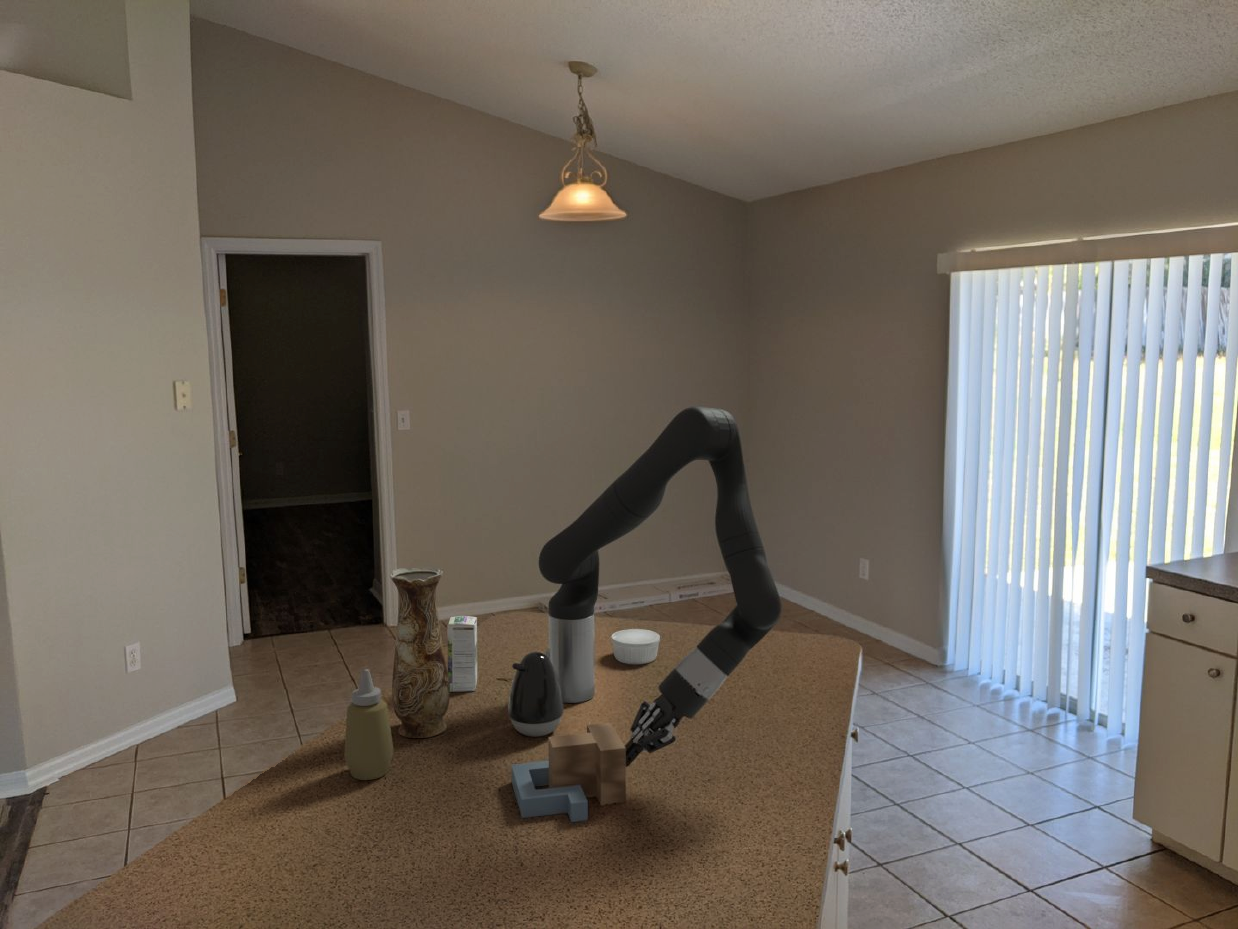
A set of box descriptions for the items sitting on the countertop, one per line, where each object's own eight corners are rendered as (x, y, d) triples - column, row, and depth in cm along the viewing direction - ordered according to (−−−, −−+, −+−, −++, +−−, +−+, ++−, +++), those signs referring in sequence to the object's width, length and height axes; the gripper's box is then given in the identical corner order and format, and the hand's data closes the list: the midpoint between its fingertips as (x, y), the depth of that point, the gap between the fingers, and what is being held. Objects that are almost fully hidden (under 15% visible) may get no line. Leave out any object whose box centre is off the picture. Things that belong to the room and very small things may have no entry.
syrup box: (450, 682, 197) (448, 616, 195) (478, 681, 198) (477, 615, 196) (447, 692, 192) (445, 624, 190) (476, 691, 192) (475, 623, 190)
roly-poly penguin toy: (496, 732, 173) (494, 653, 171) (538, 715, 180) (537, 639, 178) (533, 748, 166) (532, 666, 164) (575, 730, 173) (574, 651, 171)
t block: (610, 773, 156) (610, 722, 155) (625, 802, 146) (625, 748, 145) (545, 781, 153) (545, 729, 152) (556, 811, 144) (556, 756, 143)
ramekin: (614, 649, 219) (614, 627, 218) (662, 651, 217) (662, 629, 216) (607, 665, 208) (607, 642, 207) (657, 668, 206) (657, 645, 205)
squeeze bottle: (403, 766, 159) (400, 665, 156) (376, 788, 151) (372, 682, 149) (363, 759, 161) (359, 659, 159) (334, 780, 154) (330, 676, 151)
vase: (399, 744, 167) (393, 582, 163) (388, 722, 177) (383, 568, 173) (456, 734, 171) (452, 576, 167) (443, 713, 181) (438, 563, 177)
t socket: (565, 767, 158) (565, 750, 158) (587, 820, 141) (587, 801, 141) (509, 773, 156) (508, 756, 156) (524, 828, 139) (524, 809, 138)
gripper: (665, 655, 158) (595, 732, 156) (690, 682, 145) (615, 766, 144) (695, 682, 160) (626, 758, 158) (722, 711, 147) (648, 794, 146)
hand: (621, 762), depth 151 cm, fingers closed
